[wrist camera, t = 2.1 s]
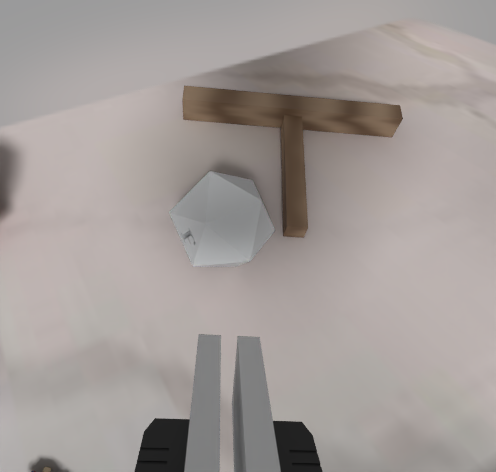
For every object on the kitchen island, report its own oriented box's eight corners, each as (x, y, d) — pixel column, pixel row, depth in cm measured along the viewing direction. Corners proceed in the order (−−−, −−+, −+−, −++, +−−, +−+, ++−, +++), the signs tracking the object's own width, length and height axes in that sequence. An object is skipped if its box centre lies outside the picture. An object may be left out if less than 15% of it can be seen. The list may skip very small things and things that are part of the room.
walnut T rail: (389, 124, 51) (399, 105, 48) (411, 244, 43) (425, 230, 40) (185, 106, 49) (184, 85, 46) (170, 228, 41) (168, 212, 39)
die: (184, 200, 44) (138, 199, 34) (259, 163, 42) (232, 150, 32) (216, 274, 43) (179, 293, 34) (294, 240, 41) (277, 250, 32)
